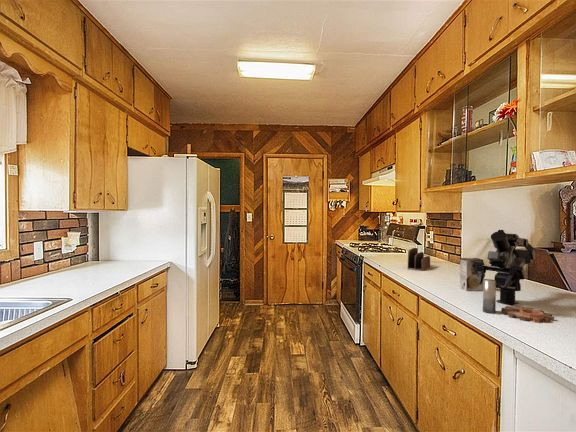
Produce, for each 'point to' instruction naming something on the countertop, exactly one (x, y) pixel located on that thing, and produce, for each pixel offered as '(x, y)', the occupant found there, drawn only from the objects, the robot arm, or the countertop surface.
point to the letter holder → (417, 260)
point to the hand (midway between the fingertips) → (492, 285)
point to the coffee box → (469, 275)
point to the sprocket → (527, 314)
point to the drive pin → (489, 296)
